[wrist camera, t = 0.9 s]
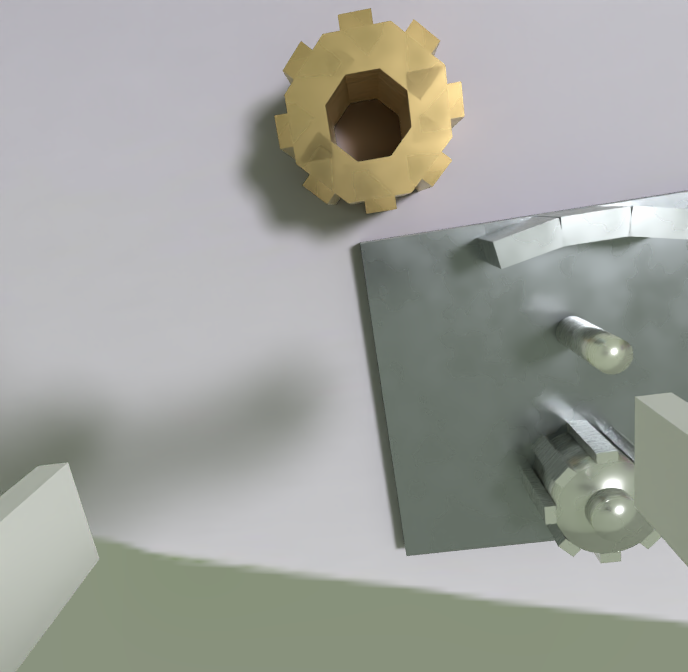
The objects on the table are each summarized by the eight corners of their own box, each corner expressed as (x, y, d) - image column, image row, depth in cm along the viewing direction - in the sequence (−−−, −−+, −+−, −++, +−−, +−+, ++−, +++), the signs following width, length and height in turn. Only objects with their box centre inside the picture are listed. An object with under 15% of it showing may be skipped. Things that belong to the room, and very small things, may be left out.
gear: (282, 69, 27) (259, 30, 21) (433, 40, 26) (452, -8, 20) (308, 222, 29) (294, 225, 23) (450, 199, 28) (471, 196, 22)
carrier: (360, 242, 29) (358, 251, 23) (730, 183, 27) (833, 176, 21) (405, 543, 34) (413, 616, 28) (720, 510, 32) (801, 579, 26)
